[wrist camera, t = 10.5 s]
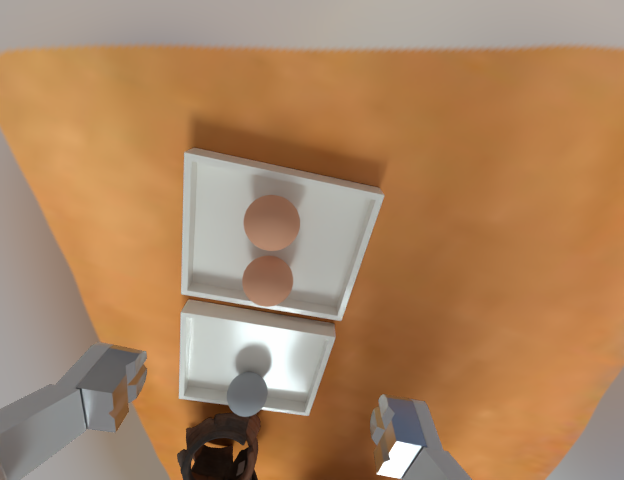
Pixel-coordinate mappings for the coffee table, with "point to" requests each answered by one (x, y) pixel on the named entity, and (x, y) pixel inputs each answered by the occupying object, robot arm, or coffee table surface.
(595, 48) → the coffee table surface
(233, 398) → the ball grey
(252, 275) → the terracotta ball
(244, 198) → the dish
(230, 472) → the pottery mug
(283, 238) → the terracotta ball
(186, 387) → the dish
